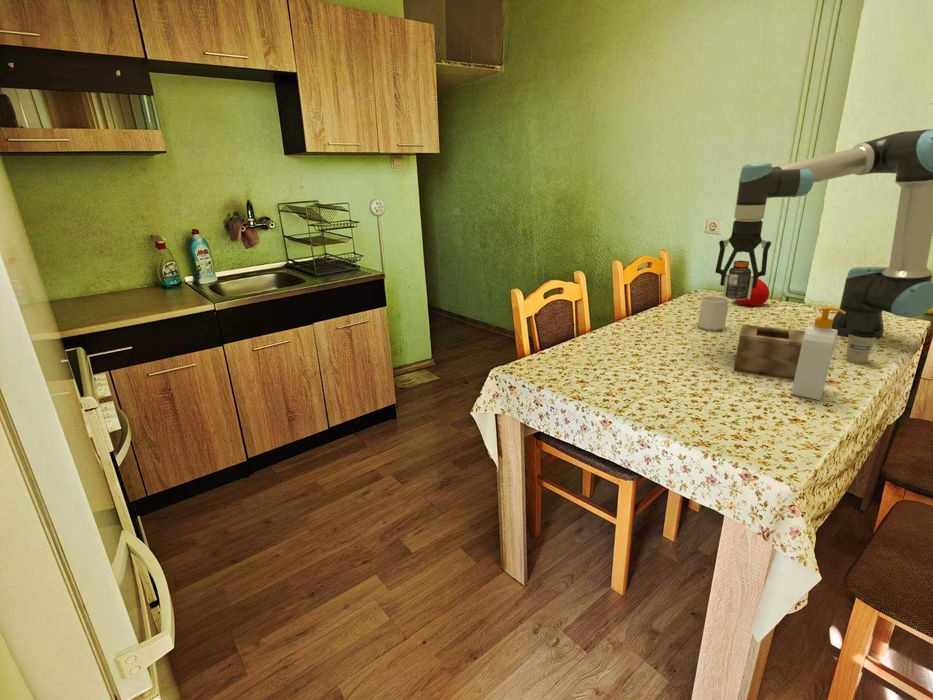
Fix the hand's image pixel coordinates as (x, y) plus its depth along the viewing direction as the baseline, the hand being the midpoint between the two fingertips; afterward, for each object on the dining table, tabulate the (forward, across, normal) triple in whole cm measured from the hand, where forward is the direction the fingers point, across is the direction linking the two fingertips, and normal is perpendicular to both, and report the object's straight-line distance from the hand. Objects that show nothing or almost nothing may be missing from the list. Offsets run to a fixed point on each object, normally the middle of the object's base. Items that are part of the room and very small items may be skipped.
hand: (736, 296), depth 149 cm
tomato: (+19, -3, -69) cm, 71 cm away
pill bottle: (0, 0, 0) cm, 0 cm away
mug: (+19, +7, -28) cm, 34 cm away
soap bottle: (+19, -21, +23) cm, 36 cm away
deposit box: (+18, -11, +9) cm, 23 cm away
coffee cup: (+19, -34, -9) cm, 40 cm away
